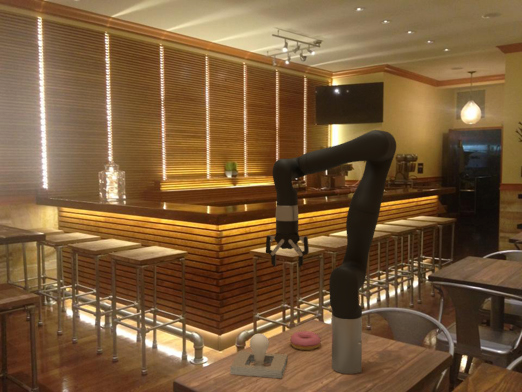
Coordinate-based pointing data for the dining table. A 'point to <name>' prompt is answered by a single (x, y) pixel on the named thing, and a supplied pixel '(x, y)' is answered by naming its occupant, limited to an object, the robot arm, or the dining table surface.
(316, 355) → the dining table surface
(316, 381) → the dining table surface
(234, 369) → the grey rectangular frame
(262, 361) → the lightbulb
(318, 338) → the doughnut
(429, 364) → the dining table surface
